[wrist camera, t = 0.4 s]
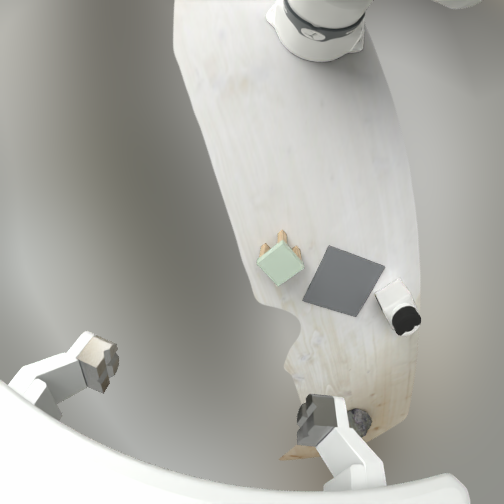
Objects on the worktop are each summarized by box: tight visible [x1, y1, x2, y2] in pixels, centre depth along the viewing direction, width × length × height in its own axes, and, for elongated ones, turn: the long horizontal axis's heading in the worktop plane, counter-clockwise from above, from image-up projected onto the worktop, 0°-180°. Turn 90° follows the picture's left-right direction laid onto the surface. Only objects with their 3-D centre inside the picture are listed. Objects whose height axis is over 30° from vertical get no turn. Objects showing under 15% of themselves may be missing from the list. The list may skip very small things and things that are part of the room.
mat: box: [303, 246, 385, 317], centre depth 58 cm, size 14×14×1 cm
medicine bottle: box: [375, 278, 421, 336], centre depth 53 cm, size 7×7×12 cm
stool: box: [257, 230, 304, 287], centre depth 52 cm, size 6×6×8 cm
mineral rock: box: [347, 409, 372, 437], centre depth 74 cm, size 13×11×10 cm
